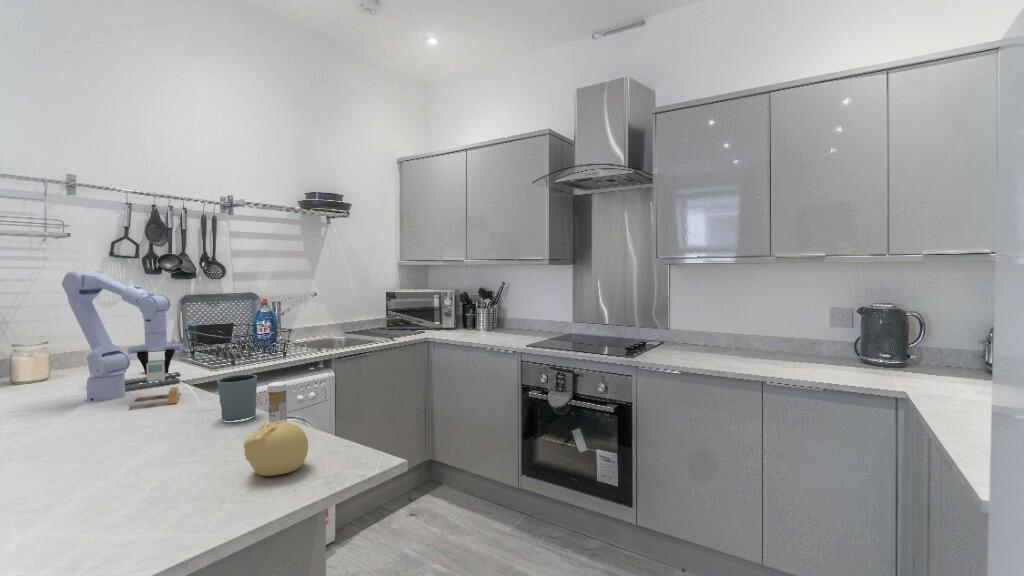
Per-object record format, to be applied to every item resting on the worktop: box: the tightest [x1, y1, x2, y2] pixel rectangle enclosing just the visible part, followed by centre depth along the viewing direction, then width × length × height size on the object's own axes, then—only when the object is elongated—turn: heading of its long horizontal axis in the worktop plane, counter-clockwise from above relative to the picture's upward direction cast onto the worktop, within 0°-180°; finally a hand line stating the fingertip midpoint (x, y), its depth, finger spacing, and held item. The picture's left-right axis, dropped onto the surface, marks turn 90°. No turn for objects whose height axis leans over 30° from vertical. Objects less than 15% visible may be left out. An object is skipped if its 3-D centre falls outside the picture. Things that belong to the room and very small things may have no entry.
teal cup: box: [216, 373, 258, 421], centre depth 139 cm, size 10×10×12 cm
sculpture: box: [243, 420, 309, 477], centre depth 103 cm, size 11×12×11 cm
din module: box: [146, 359, 168, 382], centre depth 155 cm, size 4×7×6 cm, turn 31°
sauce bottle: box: [143, 344, 165, 362], centre depth 200 cm, size 8×8×18 cm
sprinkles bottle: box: [267, 381, 288, 423], centre depth 126 cm, size 5×5×13 cm
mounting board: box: [128, 392, 182, 411], centre depth 152 cm, size 12×16×2 cm
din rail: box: [128, 386, 180, 409], centre depth 149 cm, size 12×6×4 cm, turn 121°
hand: (157, 373), depth 155 cm, fingers closed on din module, 4 cm apart
